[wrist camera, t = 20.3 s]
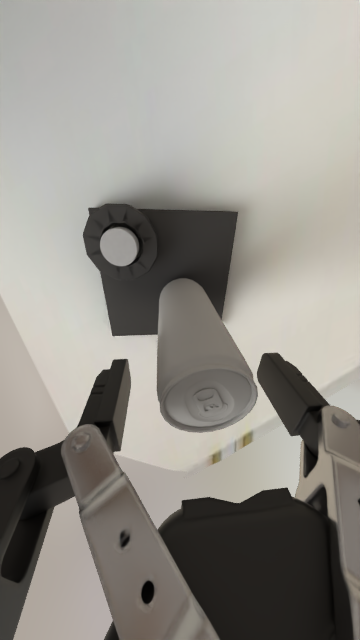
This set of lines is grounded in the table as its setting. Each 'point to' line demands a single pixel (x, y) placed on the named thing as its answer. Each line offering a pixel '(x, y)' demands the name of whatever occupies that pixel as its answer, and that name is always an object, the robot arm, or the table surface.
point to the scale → (160, 260)
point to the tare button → (119, 246)
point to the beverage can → (199, 363)
